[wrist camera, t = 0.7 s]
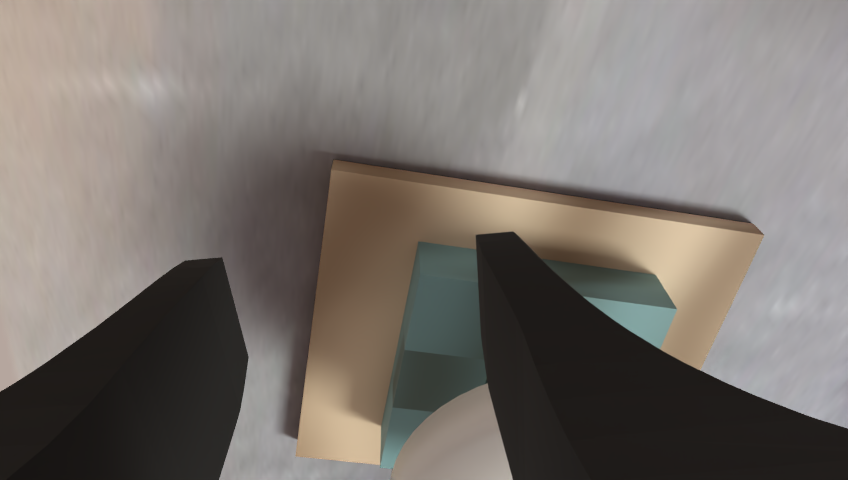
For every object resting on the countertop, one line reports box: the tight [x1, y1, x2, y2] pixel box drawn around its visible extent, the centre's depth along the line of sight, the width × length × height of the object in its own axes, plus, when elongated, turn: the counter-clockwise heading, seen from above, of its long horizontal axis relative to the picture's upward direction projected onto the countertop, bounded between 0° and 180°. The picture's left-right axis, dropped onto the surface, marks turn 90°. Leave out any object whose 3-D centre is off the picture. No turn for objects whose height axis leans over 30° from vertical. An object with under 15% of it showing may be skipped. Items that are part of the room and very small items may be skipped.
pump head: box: [391, 383, 513, 480], centre depth 19 cm, size 8×8×4 cm
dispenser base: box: [296, 160, 764, 469], centre depth 24 cm, size 14×12×3 cm
